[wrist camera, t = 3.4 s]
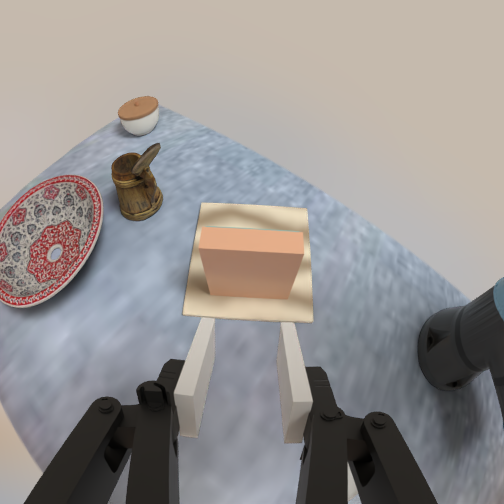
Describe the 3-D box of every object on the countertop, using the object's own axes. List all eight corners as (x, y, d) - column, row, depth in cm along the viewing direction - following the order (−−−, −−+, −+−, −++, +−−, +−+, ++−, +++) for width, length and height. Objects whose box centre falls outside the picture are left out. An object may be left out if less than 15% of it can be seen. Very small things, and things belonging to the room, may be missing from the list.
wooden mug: (158, 239, 51) (129, 166, 35) (113, 209, 54) (81, 143, 38) (188, 206, 54) (172, 131, 39) (142, 182, 58) (120, 114, 42)
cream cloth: (312, 322, 43) (313, 321, 43) (183, 315, 43) (182, 314, 43) (306, 211, 55) (306, 208, 54) (202, 205, 55) (201, 202, 54)
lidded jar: (120, 130, 69) (111, 103, 61) (153, 114, 72) (147, 87, 64) (132, 146, 64) (123, 117, 56) (168, 129, 68) (163, 99, 60)
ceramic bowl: (101, 179, 59) (90, 154, 52) (137, 280, 46) (121, 256, 39) (7, 236, 50) (-11, 217, 43) (17, 345, 38) (-9, 332, 31)
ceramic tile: (287, 299, 44) (304, 254, 32) (210, 295, 45) (198, 248, 32) (287, 280, 46) (302, 230, 34) (212, 276, 46) (202, 224, 34)
